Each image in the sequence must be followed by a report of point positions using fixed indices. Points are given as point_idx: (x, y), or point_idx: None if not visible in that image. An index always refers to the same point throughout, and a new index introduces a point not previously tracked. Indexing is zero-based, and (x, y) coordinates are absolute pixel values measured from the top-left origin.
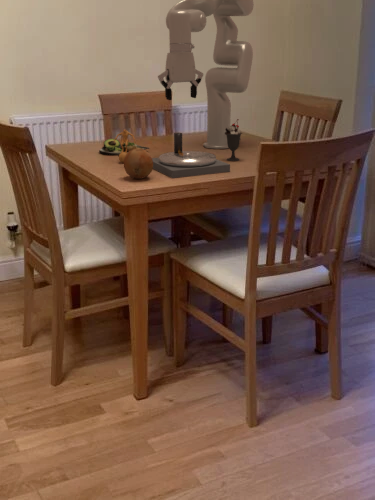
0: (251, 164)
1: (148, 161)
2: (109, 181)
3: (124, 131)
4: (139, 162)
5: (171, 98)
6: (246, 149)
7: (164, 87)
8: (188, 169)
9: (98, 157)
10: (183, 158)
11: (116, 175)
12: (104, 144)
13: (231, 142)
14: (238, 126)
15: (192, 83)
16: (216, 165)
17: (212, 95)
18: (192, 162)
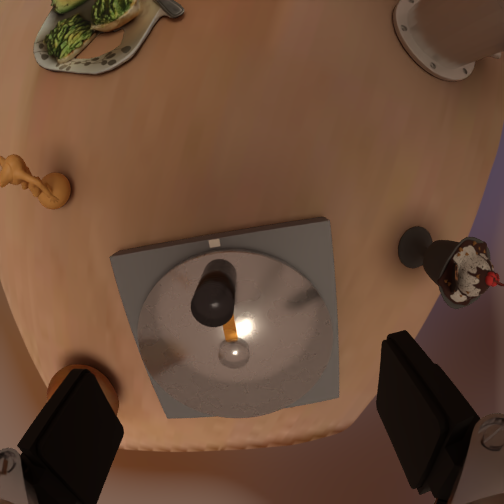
0: (424, 320)
1: None
2: (45, 376)
3: (1, 186)
4: None
5: (119, 439)
6: (489, 118)
7: (6, 455)
8: (211, 415)
9: (22, 97)
10: (212, 372)
11: (48, 336)
12: (52, 5)
13: (435, 282)
14: (494, 285)
15: (474, 466)
16: (299, 401)
17: None
18: (225, 416)
